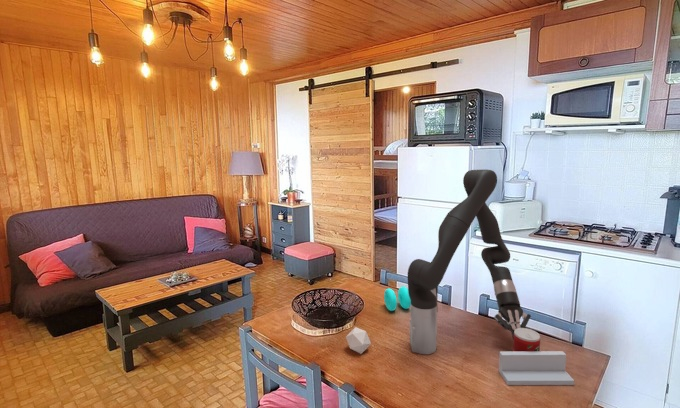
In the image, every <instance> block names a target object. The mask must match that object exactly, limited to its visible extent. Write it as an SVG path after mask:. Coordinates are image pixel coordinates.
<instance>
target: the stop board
mask: <svg viewBox="0 0 680 408" xmlns="http://www.w3.org/2000/svg"><path fill="white" fill-rule="evenodd" d="M498 355H499V360H498V362H499V363H498V372H499V374H500V376H501V377H502V378H503V381H504V382H505V383H506V385H507V386H575V379H574V378H572V376H571V375H570V374H569V373H568V372H567V371H566V363H567V354H566V353H565V352H564V351H563V350H558V351H557V350H548V351H547V350H543V351H540V350H539V351H513V350H512V351H510V350H509V351H499V354H498Z"/></svg>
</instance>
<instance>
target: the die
mask: <svg viewBox="0 0 680 408" xmlns="http://www.w3.org/2000/svg"><path fill="white" fill-rule="evenodd" d="M345 339H346V341H347V344H348V347H349V349H350V350H353V351H354V352H356V353H358V354H360V355H361V354H363V353H364V352H365V351H366V350H367V349H368V348H369V346H370V345H371V344H372V343H371V340H370V337H369V335H368V333H367V331H366V330H364V329H362V328H359V327H357V326H355V327H353V329H352V330H351V331H350V332H349V333H348V334H347V335H346V336H345Z"/></svg>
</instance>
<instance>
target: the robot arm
mask: <svg viewBox="0 0 680 408" xmlns="http://www.w3.org/2000/svg"><path fill="white" fill-rule="evenodd" d="M462 181H463V182H462V183H463V187H464V191H465V192H466V195H467V197H466V198H465V199H463V200H462V201H461V202H460V203H458V204H457V205H455V206H454V207H453V208H452V209H450V210H449V212H448V213H447V214H446V215H445V217H444V218H443V220H442V222H441V224H440V226H439V228H438V232H437V233H438V234H437V236H438V239H437V240H438V247H437V251H436V253H435V255H434V257H433V258H432V260H431V262H430V261H427V260H424V259H421V258H416V259H414V260H413V261H412V262H410V264H409V266H408V269H407V289H408V293H409V297H410V300H411V305H410V320H409V345H410V350H411V352H412V353H417V354H420V355H430V354H431V355H432V354H433V353H435V352H436V351H437V335H438V334H437V322H438V321H437V317H438V314H437V313H438V298H436V296H435V295H434V294H433V293H432V292H431V290H433V289H435V288H436V287H437V286H439V285H440V284H441V282H442V280H443V278H444V276H445V275H446V272H447V270H448V268H449V265H450V263H451V261H452V258H454V255H455V253H456V251H457V249H458V248H459V246H460V244H461V243H462V241H463V239H464V238H465V236H466V235H467V234H468V233H467V232H468V231H469V229H470V228H471V225H472V223H473V222H474V220H475V219H477V220H476V221H477V222H478V223H477V224H478V227H479V230H480V235H481V238H482V242H483V243H485V244H489V245H495V246H488V247H484V248H483V249H482V250H481V253H480V256H481V259H482V261H483V263H484V264H485V266H486V267H487V269H488V272H489V273H490V276H491V281H492V283H493V284H492V285H493V290H494V296H495V299H496V303H497V307H498V311H497V312H498V313H497V314H495V315H494V316H493V319H494V321H496V322H497V324H498V325H500V326H501V327H502V328H503V329H504V330H506V331H510V333H511V336H512V340H513V341H514V331H515V329H517V328H527V325H528V323H529V320H530V319H531V317H532V316H531V314H530V313H528V314H527V313H525V312H524V309H523V308H522V306H521V303H520V299H519V295H518V292H517V288H516V285H515V284H514V281H513V278H512V274H511V270H510V268H508V267H506V266H502V265H501V266H499V264H506V263H508V262H509V261H510V259H511V252H510V251H509V249H508V247H507V246H506V244H505V242H504V240H503V237H502V235H501V230H500V227H499V221H498V219H497V217H496V216H495V214H494V213H493V212H492V210H491V209H490V208H489V206H488V205H487V203H486V202H487V200H488V199H489V198H490V197H491V195H492V194H493V192H494V191H495V188H496V186H497V183H498V175H497V173H496V172H495V171H494V170H492V169H470V170H468V171H466V172H465V173H464V175H463V178H462ZM521 318H522V322H521Z"/></svg>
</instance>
